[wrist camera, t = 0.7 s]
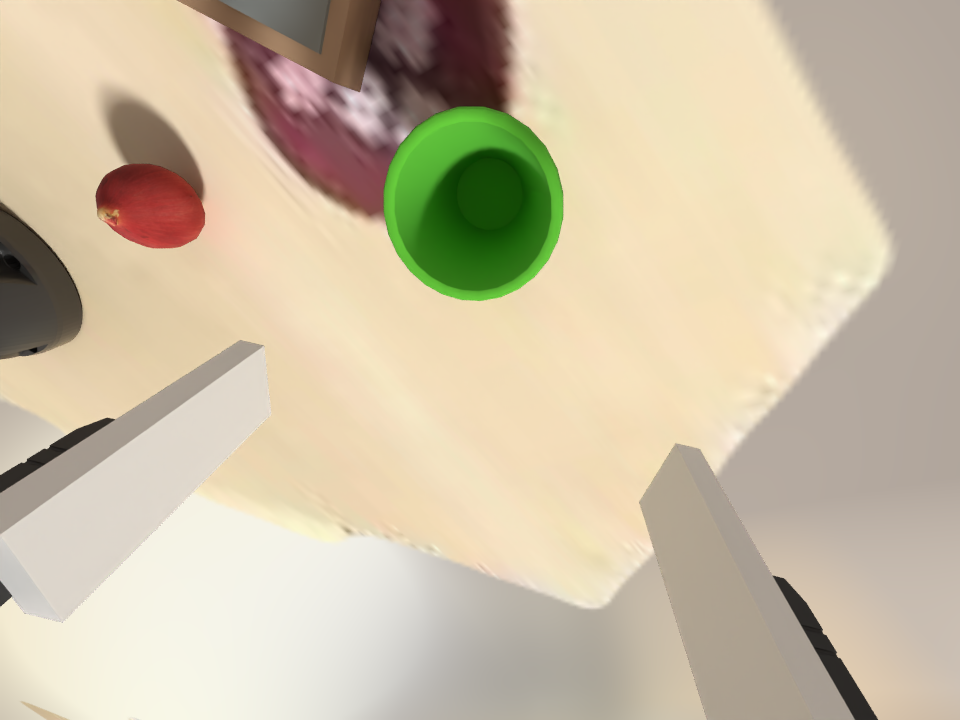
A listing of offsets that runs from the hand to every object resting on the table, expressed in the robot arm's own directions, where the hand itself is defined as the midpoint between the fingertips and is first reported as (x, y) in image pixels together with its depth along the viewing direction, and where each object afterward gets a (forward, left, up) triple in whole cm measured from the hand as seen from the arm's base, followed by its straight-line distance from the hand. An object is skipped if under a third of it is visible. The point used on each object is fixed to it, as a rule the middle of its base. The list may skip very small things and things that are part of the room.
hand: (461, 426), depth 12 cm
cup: (-3, +4, -21) cm, 22 cm away
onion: (-25, -7, -21) cm, 34 cm away
